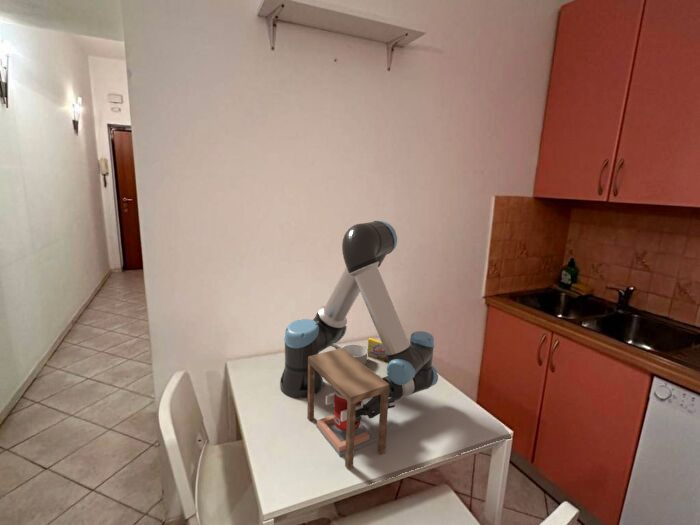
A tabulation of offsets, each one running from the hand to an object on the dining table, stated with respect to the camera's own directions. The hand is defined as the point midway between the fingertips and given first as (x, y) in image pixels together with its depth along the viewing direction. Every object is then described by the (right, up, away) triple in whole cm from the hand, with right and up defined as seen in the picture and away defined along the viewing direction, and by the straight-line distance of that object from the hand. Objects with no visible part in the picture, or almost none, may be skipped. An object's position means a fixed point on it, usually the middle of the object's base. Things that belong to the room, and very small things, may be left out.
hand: (333, 408), depth 103 cm
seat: (+4, -9, +5) cm, 11 cm away
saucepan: (+2, 0, +48) cm, 48 cm away
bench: (+4, -9, +5) cm, 11 cm away
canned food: (+4, -6, +4) cm, 8 cm away
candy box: (+19, 0, +48) cm, 52 cm away
